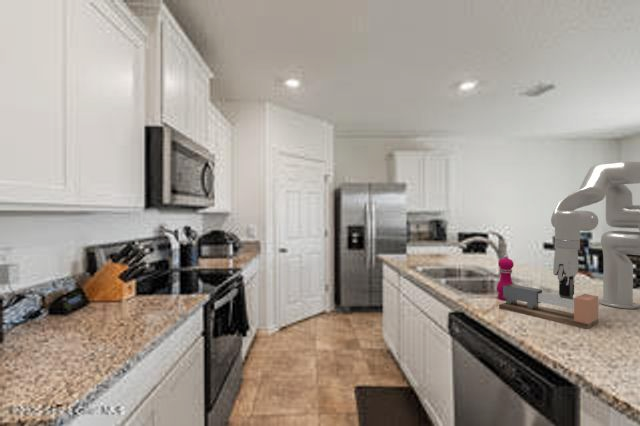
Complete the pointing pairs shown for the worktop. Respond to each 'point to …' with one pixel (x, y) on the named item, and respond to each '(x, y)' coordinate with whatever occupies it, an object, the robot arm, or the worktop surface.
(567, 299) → the tube
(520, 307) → the base board
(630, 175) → the robot arm
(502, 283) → the pepper mill
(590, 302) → the socket block
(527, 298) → the outer sleeve
